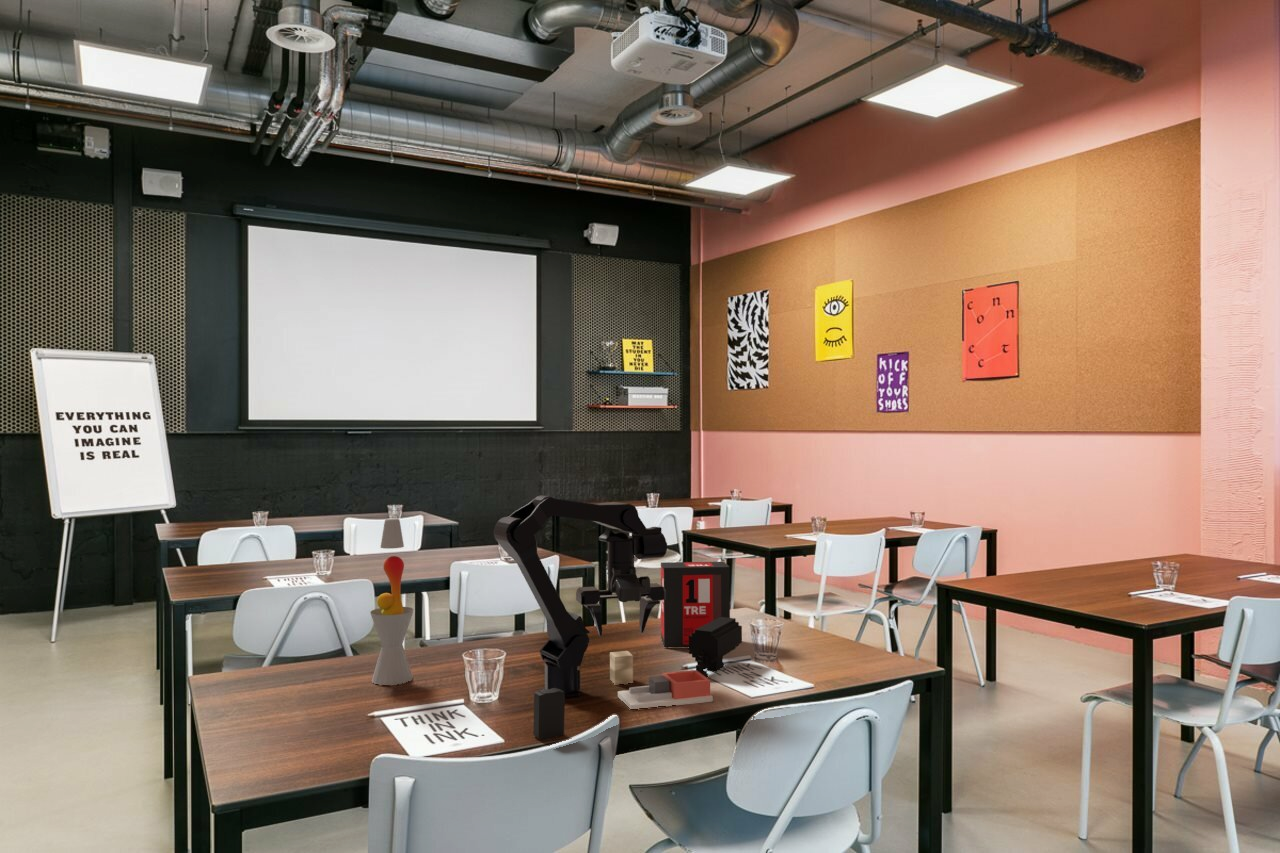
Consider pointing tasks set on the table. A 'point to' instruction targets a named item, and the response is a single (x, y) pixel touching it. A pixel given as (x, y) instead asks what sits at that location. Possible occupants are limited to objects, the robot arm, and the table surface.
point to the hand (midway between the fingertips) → (621, 633)
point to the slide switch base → (671, 691)
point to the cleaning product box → (692, 598)
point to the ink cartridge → (549, 713)
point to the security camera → (714, 643)
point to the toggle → (659, 684)
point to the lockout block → (621, 667)
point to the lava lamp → (392, 615)
